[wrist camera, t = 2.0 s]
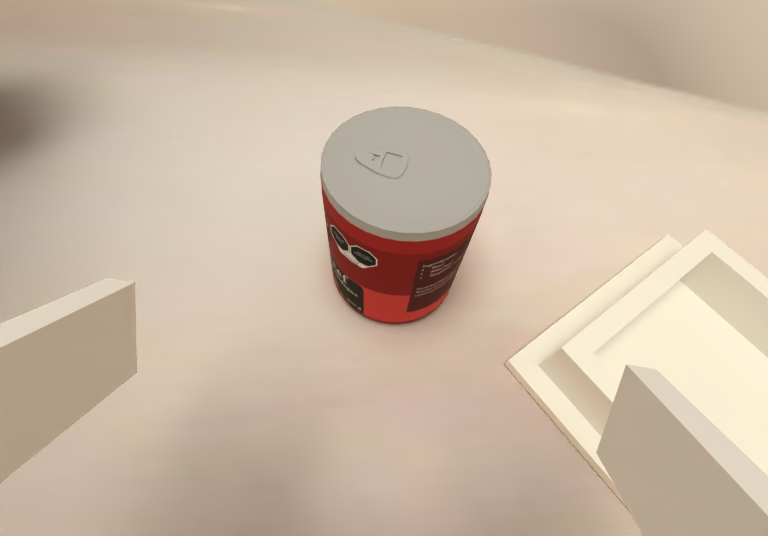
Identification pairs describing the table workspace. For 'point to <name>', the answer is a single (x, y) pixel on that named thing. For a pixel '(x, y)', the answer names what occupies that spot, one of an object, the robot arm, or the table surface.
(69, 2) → the table surface
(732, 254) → the white square tray
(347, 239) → the canned food
